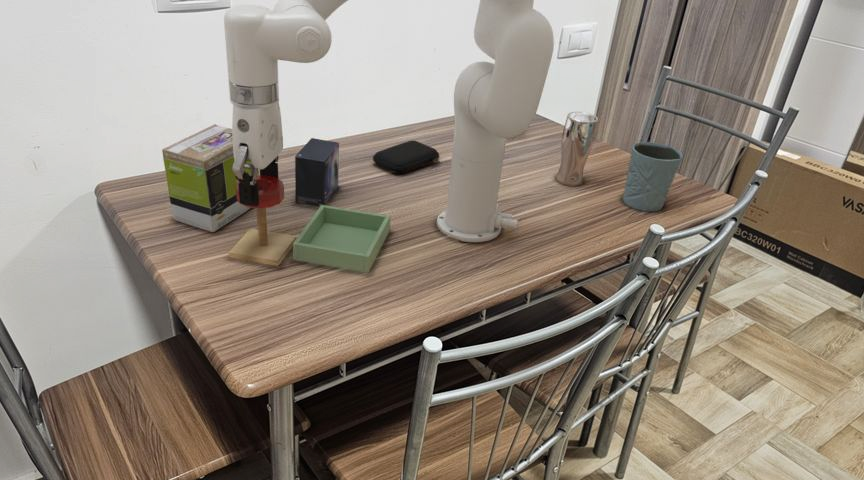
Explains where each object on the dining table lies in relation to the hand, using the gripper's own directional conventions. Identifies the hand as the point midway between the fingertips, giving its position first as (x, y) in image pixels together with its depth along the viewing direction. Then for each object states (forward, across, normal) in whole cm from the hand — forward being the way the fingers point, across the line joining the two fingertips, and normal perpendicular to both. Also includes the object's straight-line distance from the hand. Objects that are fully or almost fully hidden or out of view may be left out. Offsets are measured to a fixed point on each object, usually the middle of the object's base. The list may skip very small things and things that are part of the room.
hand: (259, 193), depth 116 cm
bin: (+11, +6, -13) cm, 18 cm away
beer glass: (+11, +51, -53) cm, 75 cm away
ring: (+1, 0, 0) cm, 1 cm away
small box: (+12, +24, -2) cm, 27 cm away
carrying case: (+11, +47, -16) cm, 51 cm away
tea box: (+12, +11, +14) cm, 21 cm away
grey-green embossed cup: (+11, +45, -69) cm, 83 cm away
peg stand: (+11, 0, 0) cm, 11 cm away
